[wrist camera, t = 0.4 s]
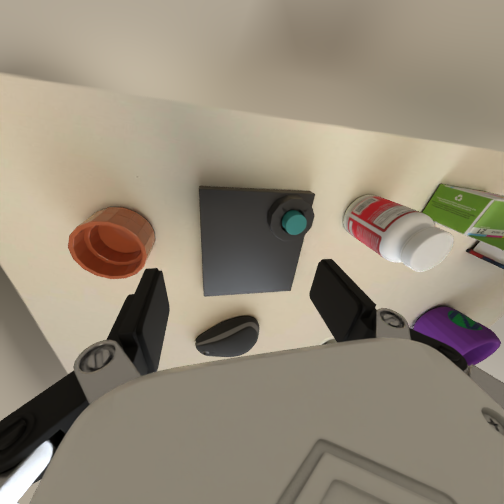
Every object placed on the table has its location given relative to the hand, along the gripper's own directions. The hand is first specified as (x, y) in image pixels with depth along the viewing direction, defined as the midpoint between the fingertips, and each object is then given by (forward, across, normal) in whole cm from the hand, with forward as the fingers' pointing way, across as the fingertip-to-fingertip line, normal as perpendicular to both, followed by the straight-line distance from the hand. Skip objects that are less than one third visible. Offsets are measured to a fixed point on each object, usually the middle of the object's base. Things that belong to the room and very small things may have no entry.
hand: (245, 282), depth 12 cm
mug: (+15, -54, +29) cm, 64 cm away
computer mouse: (+15, 0, +25) cm, 29 cm away
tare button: (+12, -8, +1) cm, 15 cm away
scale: (+15, -4, +6) cm, 17 cm away
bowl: (+15, +12, +4) cm, 20 cm away
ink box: (+15, -36, 0) cm, 39 cm away
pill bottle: (+15, -20, +1) cm, 25 cm away
